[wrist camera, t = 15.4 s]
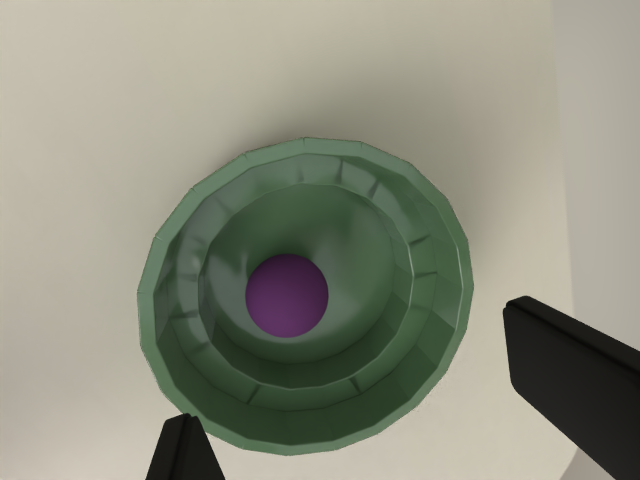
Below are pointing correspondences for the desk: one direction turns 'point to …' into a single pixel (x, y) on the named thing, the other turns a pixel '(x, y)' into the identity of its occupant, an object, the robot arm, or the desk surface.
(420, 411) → the desk surface
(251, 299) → the ball
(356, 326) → the bowl
